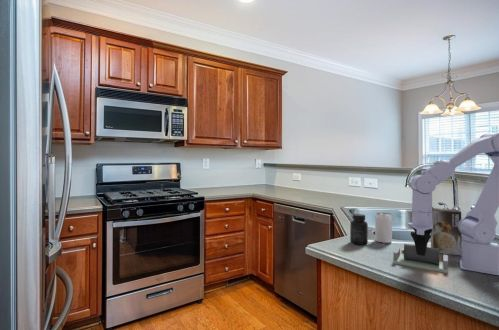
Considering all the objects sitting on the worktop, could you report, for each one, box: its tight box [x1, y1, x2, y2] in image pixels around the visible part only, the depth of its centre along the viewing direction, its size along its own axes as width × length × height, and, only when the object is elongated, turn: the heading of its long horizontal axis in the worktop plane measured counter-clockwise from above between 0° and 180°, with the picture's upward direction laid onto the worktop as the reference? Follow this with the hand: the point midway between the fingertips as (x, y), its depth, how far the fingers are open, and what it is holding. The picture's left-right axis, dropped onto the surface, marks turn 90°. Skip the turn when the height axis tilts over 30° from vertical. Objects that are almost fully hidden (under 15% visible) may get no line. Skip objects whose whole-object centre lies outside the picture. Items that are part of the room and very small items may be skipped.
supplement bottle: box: [349, 213, 369, 247], centre depth 120 cm, size 7×7×12 cm
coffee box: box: [430, 207, 462, 256], centre depth 109 cm, size 9×6×16 cm
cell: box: [401, 243, 440, 265], centre depth 96 cm, size 11×5×5 cm, turn 57°
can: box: [374, 212, 393, 244], centre depth 123 cm, size 6×6×12 cm
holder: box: [392, 247, 449, 274], centre depth 96 cm, size 15×8×4 cm, turn 56°
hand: (421, 251), depth 96 cm, fingers open, 7 cm apart
